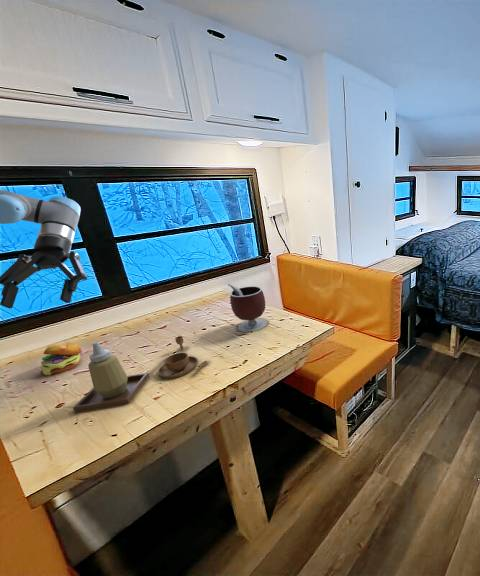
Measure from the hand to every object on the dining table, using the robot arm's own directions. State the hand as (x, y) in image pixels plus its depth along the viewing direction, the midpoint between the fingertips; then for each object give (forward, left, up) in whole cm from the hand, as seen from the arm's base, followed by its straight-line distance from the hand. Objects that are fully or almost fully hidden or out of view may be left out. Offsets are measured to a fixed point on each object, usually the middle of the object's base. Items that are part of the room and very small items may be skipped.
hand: (36, 303), depth 86 cm
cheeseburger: (-14, +19, -31) cm, 39 cm away
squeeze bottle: (+13, -4, -31) cm, 33 cm away
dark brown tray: (+13, -4, -31) cm, 34 cm away
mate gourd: (+48, +34, -31) cm, 66 cm away
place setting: (+29, +9, -31) cm, 43 cm away
